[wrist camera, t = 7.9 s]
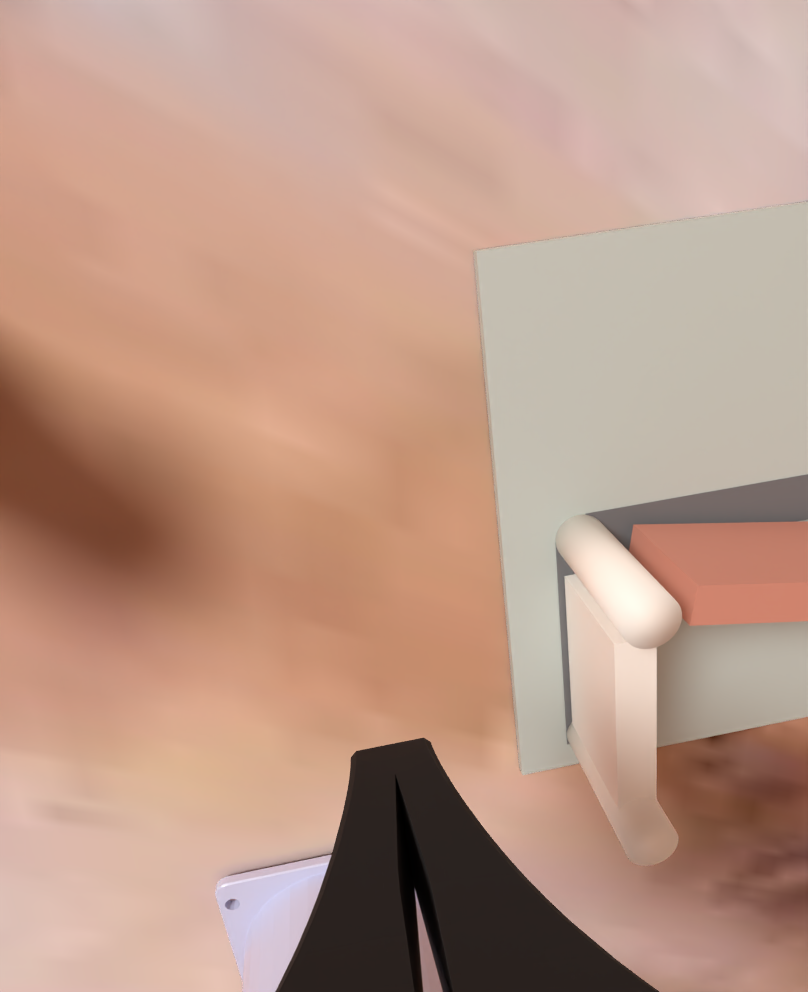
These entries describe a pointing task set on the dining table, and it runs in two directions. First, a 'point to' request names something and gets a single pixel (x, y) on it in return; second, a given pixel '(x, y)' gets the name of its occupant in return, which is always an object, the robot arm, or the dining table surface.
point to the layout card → (647, 442)
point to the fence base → (617, 681)
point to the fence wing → (729, 569)
